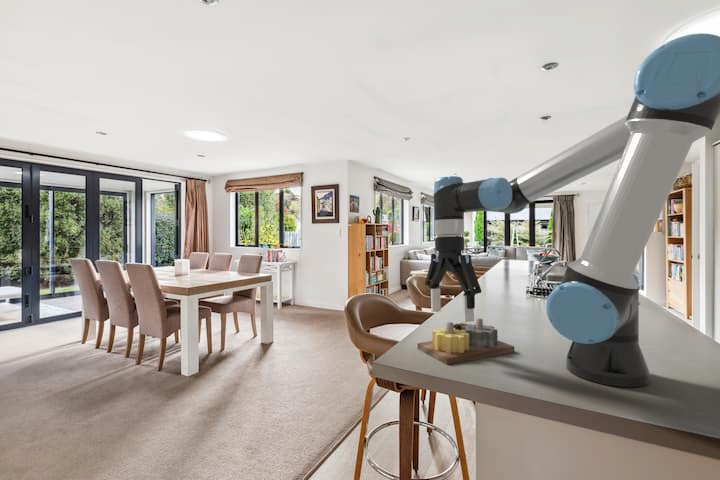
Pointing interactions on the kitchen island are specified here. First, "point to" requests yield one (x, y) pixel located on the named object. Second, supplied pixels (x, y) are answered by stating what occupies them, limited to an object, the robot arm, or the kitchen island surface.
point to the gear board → (470, 344)
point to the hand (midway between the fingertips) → (451, 316)
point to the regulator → (459, 326)
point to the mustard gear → (451, 340)
